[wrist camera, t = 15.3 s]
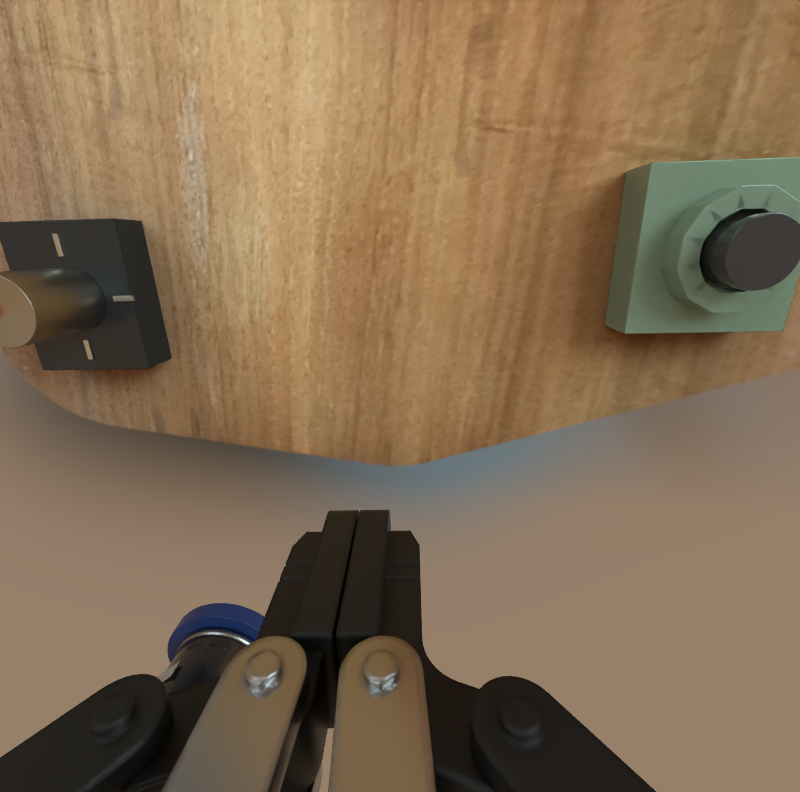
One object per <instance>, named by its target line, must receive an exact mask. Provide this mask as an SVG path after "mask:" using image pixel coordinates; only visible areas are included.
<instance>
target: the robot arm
mask: <svg viewBox="0 0 800 792" xmlns="http://www.w3.org/2000/svg"><path fill="white" fill-rule="evenodd" d="M328 728H334V735H333V745H332V755H331V766H330V777H329V788H328V792H656V791H655V790H654V789H653V788H652V787H650V786H649V785H648V784H647V783H646V782H645V781H644V780H643V779H642V778H641V777H640V776H638V775H637V774H636V773H635V772H634V771H633V770H632V769H631V768H630V767H629V766H628V765H626V764H625V763H624V762H623V761H622V760H621V759H620V758H619V757H618V756H617V755H616V754H614V753H613V752H612V751H611V750H610V749H609V748H608V747H607V746H606V745H605V744H603V743H602V742H601V741H600V740H599V739H598V738H597V737H596V736H594V734H593V733H591V732H590V731H589V730H588V729H587V728H586V727H585V726H584V725H582V724H581V722H579V721H578V720H577V719H576V718H575V717H574V716H573V715H572V714H571V713H570V712H568V711H567V710H566V709H565V708H564V707H563V706H562V705H561V704H560V703H559V702H558V701H556V700H555V699H554V698H553V697H552V696H551V695H550V694H549V693H548V692H546V691H545V690H544V689H543V688H541V687H540V686H538V685H537V684H535V683H533V682H531V681H529V680H526V679H523V678H520V677H514V676H502V677H498V678H495V679H492V680H490V681H489V682H487V683H486V684H484V685H483V686H482V687H481V688H480V689H478V688H475V687H472V686H469V685H466V684H463V683H460V682H457V681H455V680H453V679H450V678H449V677H447V676H445V675H444V674H442V673H441V672H440V671H439V670H438V669H436V668H435V666H434V665H433V664H432V663H431V661H430V660H429V658H428V657H427V655H426V653H425V650H424V647H423V642H422V619H421V586H420V549H419V544H418V542H417V541H416V539H415V537H414V536H413V534H412V533H411V531H391V525H390V511H389V510H361V511H360V512H359V511H358V510H357V511H356V510H353V511H352V510H350V511H329V512H328V514H327V517H326V520H325V524H324V527H323V530H322V532H306V533H305V534H304V535H303V536H302V537H301V538H300V539H299V540H298V542H297V543H296V544H295V545H294V546H293V547H292V549H291V552H290V555H289V557H288V560H287V562H286V567H284V570H283V572H282V574H281V577H280V582H278V585H277V587H276V590H275V592H274V595H273V597H272V600H271V602H270V605H269V607H268V610H267V612H266V615H265V617H264V620H263V622H262V625H261V627H260V630H259V632H258V635H257V638H256V640H253V639H252V638H251V637H249V636H247V635H246V634H244V633H241V632H239V631H236V630H233V629H229V628H224V627H206V628H202V629H198V630H196V631H194V632H192V633H190V634H189V635H188V636H187V637H186V638H185V639H184V640H183V641H182V643H181V645H180V646H179V648H178V650H177V652H176V655H175V657H174V659H173V660H172V662H171V664H170V665H169V667H168V669H167V670H166V671H165V672H163V673H162V674H161V675H159V676H158V677H155V676H152V675H148V674H138V675H132V676H128V677H124V678H122V679H119V680H117V681H115V682H113V683H111V684H109V685H107V686H106V687H104V688H102V689H101V690H99V691H98V692H96V693H95V694H93V695H92V696H90V697H89V698H87V699H86V700H84V701H83V702H81V703H80V704H78V705H77V706H76V707H74V708H73V709H71V710H70V711H68V712H67V713H65V714H64V715H62V716H61V717H59V718H58V719H56V720H55V721H53V722H52V723H51V724H49V725H48V726H46V727H45V728H43V729H42V730H40V731H39V732H37V733H36V734H34V735H33V736H31V737H30V738H29V739H27V740H26V741H24V742H23V743H21V744H20V745H18V746H17V747H15V748H14V749H12V750H11V751H9V752H8V753H6V754H5V755H4V756H2V757H1V758H0V792H319V788H320V784H321V778H322V758H323V752H324V746H325V741H326V735H327V729H328Z"/></svg>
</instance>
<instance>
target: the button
mask: <svg viewBox="0 0 800 792" xmlns="http://www.w3.org/2000/svg"><path fill="white" fill-rule="evenodd" d="M799 260H800V224H799V222H798V221H797V220H796V219H795V218H793V217H792V216H790V215H788V214H785V213H781V212H768V213H757V214H746V215H740V216H736V217H733V218H731V219H729V220H727V221H725V222H724V223H722V224H721V225H720V226H719V227H717V228H716V229H715V230H714V231H713V233H712V234H711V235H710V237H709V238H708V240H707V242H706V243H705V246H704V248H703V252H702V268H703V271H704V273H705V275H706V277H707V278H708V279H709V280H710V281H711V282H712V283H714V284H716V285H718V286H721V287H726V288H733V289H740V290H747V291H759V290H763V289H767V288H770V287H772V286H774V285H776V284H778V283H779V282H781V281H782V280H784V279H785V278H786V277H787V276H788V275H789V274H790V273H791V272H792V271H793V270H794V268H795V267H796V266H797V264H798V262H799Z"/></svg>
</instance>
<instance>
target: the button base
mask: <svg viewBox="0 0 800 792" xmlns="http://www.w3.org/2000/svg"><path fill="white" fill-rule="evenodd" d="M768 212H781V213H785V214H788V215H790V216H792V217H793V218H795V219H796V220H797V221H798V222H799V224H800V157H784V158H757V159H731V160H704V161H678V162H652V163H649V164H646V165H643V166H641V167H638V168H635V169H632V170H629V171H627V172H626V176H625V183H624V191H623V198H622V205H621V212H620V219H619V226H618V233H617V240H616V247H615V254H614V262H613V269H612V276H611V283H610V290H609V297H608V304H607V311H606V318H605V325H606V326H608V327H610V328H613V329H615V330H617V331H619V332H622V333H624V334H646V333H705V332H764V331H783V329H784V325H785V322H786V318H787V315H788V311H789V308H790V305H791V301H792V298H793V294H794V291H795V287H796V284H797V280H798V277H799V273H800V260H799V262H798V264H797V266H796V267H795V268H794V270H793V271H792V272H791V273H790V274H789V275H788V276H787V277H786V278H785V279H784V280H782V281H781V282H779V283H778V284H776V285H774V286H772V287H770V288H767V289H763V290H759V291H747V290H740V289H733V288H726V287H721V286H718V285H716V284H714V283H712V282H711V281H710V280H709V279H708V278H707V277H706V275H705V273H704V271H703V268H702V252H703V248H704V246H705V243H706V242H707V240H708V238H709V237H710V235H711V234H712V233H713V231H714V230H715V229H716V228H717V227H719V226H720V225H721V224H722V223H724V222H725V221H727V220H729V219H731V218H733V217H736V216H740V215H746V214H757V213H768Z"/></svg>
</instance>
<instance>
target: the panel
mask: <svg viewBox="0 0 800 792" xmlns="http://www.w3.org/2000/svg"><path fill="white" fill-rule="evenodd" d="M0 241H1V244H2V247H3V250H4V253H5V256H6V259H7V262H8V265H9V268H10V271H19V270H34V269H49V268H73V269H76V270H79V271H81V272H83V273H85V274H86V275H88V276H89V277H90V278H91V279H92V280H93V281H94V282H95V283H96V284H97V286H98V287H99V289H100V290H101V292H102V295H103V298H104V302H105V312H104V316H103V318H102V320H101V322H100V323H99V324H98V325H97V326H95V327H94V328H92V329H88V330H85V331H81V332H77V333H73V334H69V335H65V336H61V337H57V338H53V339H49V340H46V341H42V342H38V343H34V344H35V347H36V350H37V353H38V356H39V359H40V362H41V365H42V368H43V370H88V369H149V368H151V367H153V366H155V365H158V364H160V363H162V362H164V361H166V360H169V359H171V358H172V357H171V353H170V348H169V344H168V339H167V335H166V330H165V326H164V321H163V317H162V312H161V308H160V303H159V298H158V294H157V289H156V285H155V280H154V276H153V271H152V267H151V262H150V258H149V253H148V248H147V244H146V239H145V235H144V230H143V226H142V222H141V221H136V220H124V219H82V220H51V221H21V222H0Z"/></svg>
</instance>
